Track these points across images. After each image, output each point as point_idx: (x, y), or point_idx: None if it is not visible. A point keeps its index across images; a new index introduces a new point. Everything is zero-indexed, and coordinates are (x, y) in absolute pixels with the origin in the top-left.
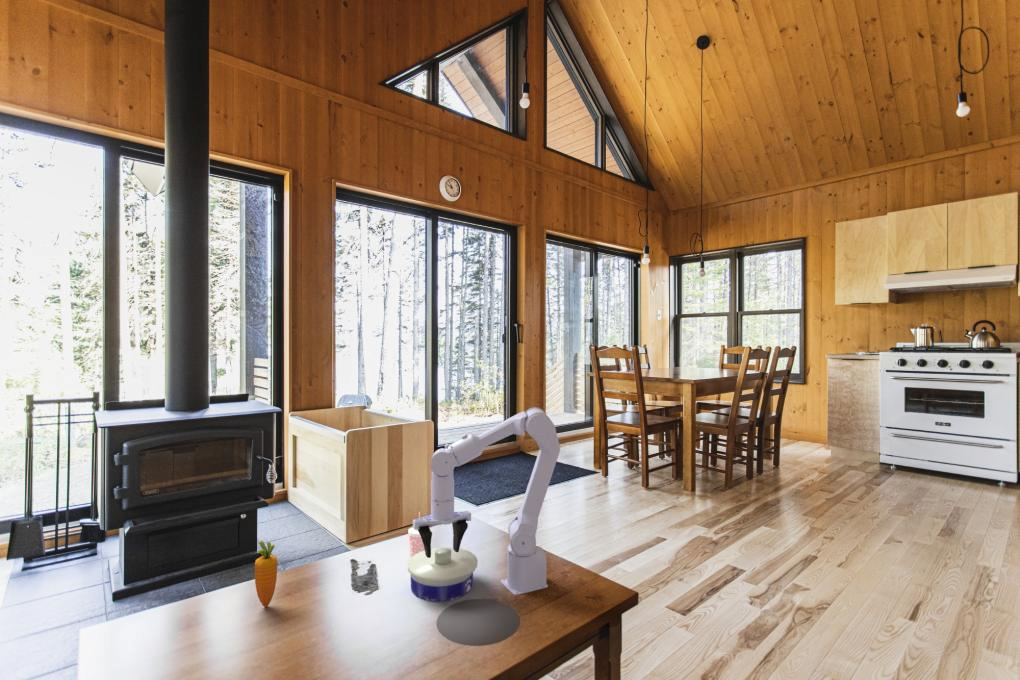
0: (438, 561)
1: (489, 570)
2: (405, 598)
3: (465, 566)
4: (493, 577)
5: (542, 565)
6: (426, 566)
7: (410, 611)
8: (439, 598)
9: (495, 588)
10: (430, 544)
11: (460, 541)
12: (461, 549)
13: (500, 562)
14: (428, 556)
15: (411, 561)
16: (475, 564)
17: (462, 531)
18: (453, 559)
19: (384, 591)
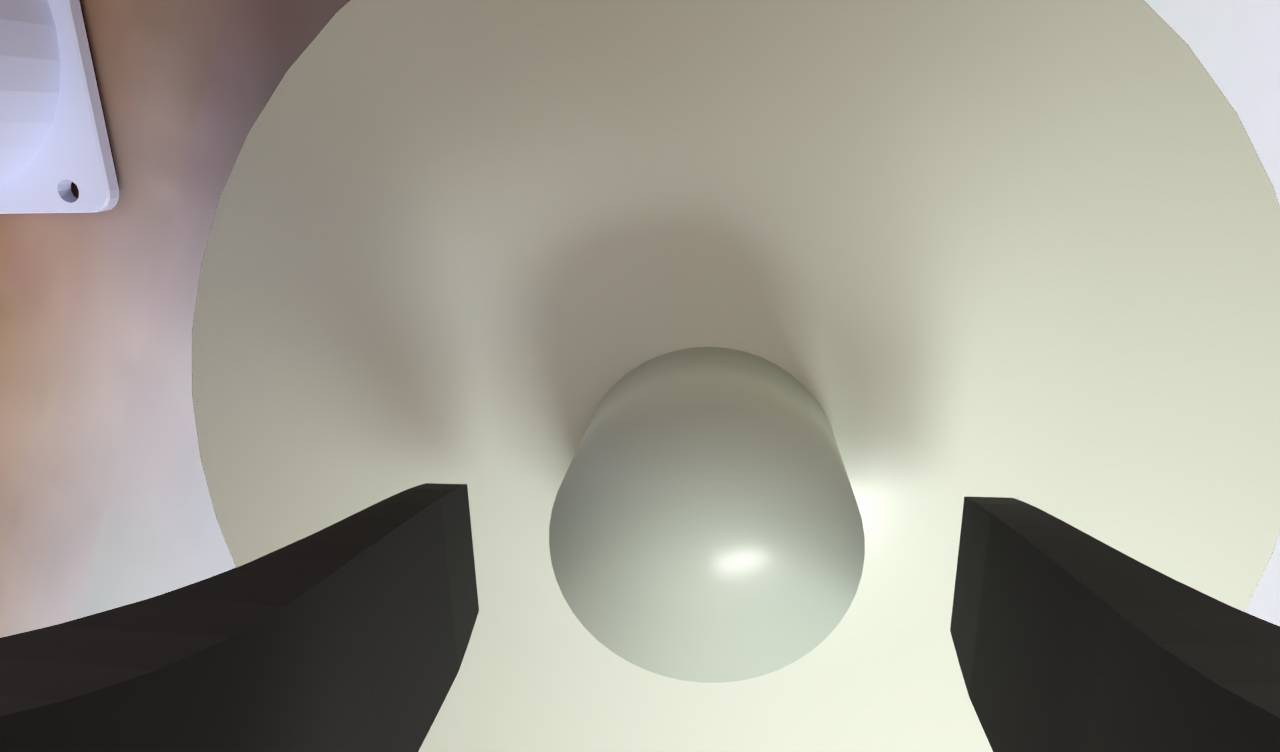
0: (820, 414)
1: (175, 484)
2: None
3: (432, 145)
4: (171, 338)
5: None
6: (1014, 421)
7: (1227, 27)
8: None
9: (205, 110)
10: (1122, 602)
11: (296, 549)
12: None
13: (41, 577)
14: (1023, 504)
15: None
16: (261, 143)
17: (56, 653)
18: (537, 462)
19: (1276, 554)
